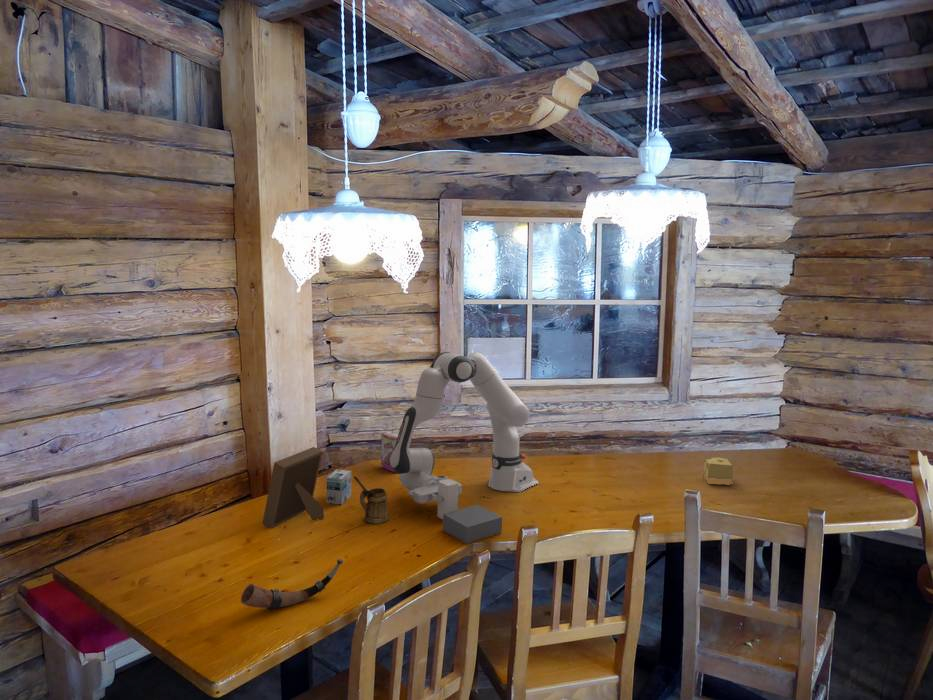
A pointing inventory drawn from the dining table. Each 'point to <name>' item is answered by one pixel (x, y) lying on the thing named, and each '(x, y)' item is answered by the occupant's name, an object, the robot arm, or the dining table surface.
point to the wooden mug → (374, 504)
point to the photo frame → (293, 488)
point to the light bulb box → (338, 486)
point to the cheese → (718, 468)
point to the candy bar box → (387, 449)
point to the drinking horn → (283, 593)
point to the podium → (472, 523)
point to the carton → (447, 497)
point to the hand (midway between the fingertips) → (449, 498)
